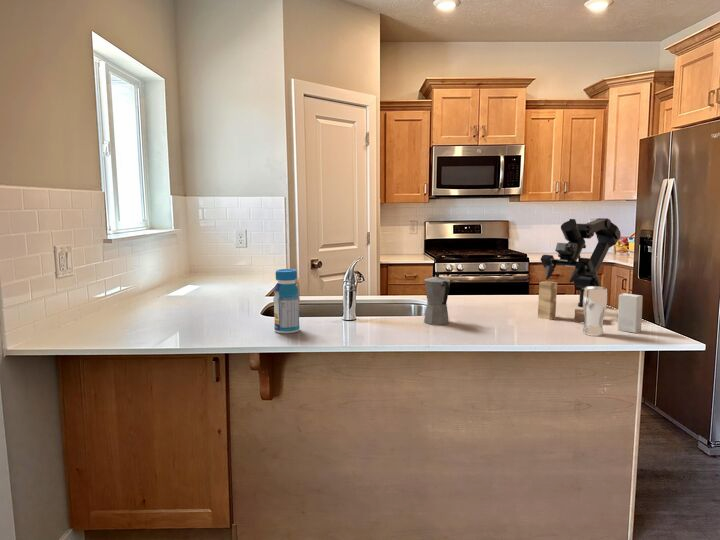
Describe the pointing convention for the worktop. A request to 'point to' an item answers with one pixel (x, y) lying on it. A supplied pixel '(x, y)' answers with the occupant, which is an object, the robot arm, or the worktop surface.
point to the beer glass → (594, 309)
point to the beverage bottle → (286, 302)
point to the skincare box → (630, 312)
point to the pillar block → (547, 300)
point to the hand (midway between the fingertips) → (558, 280)
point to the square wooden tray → (579, 315)
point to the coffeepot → (436, 300)
